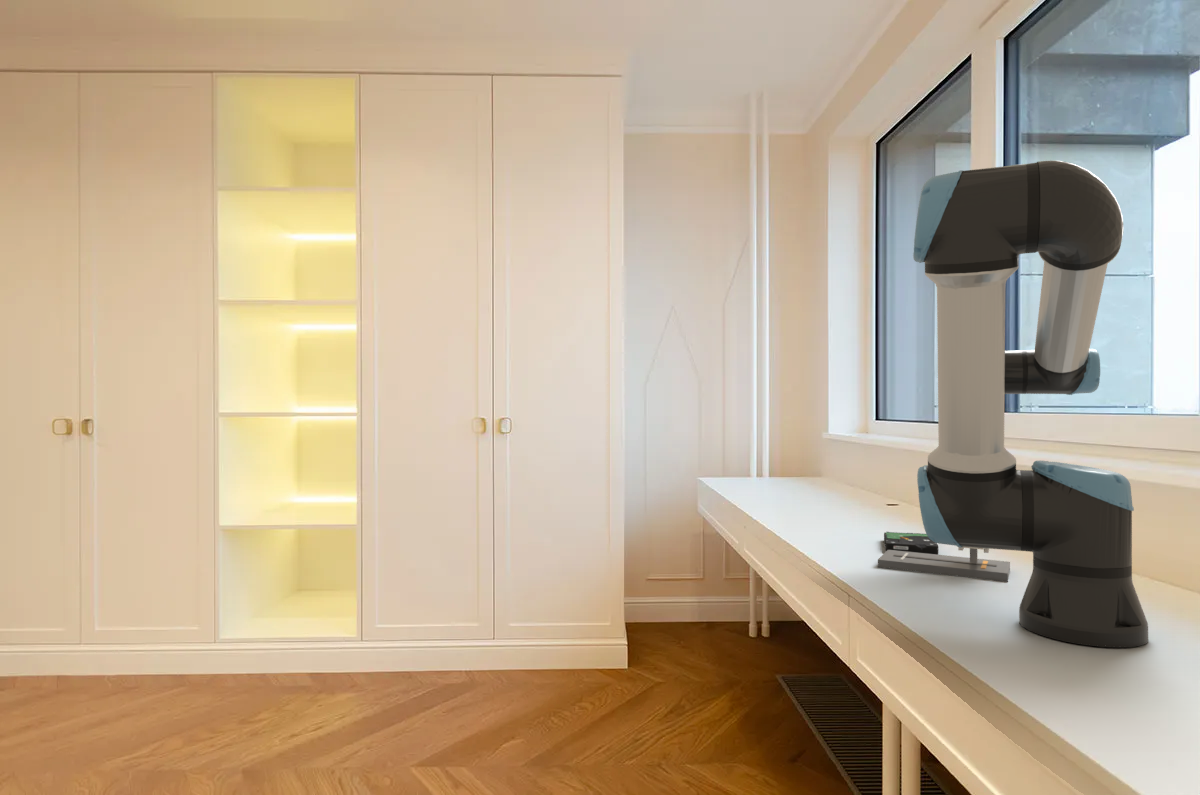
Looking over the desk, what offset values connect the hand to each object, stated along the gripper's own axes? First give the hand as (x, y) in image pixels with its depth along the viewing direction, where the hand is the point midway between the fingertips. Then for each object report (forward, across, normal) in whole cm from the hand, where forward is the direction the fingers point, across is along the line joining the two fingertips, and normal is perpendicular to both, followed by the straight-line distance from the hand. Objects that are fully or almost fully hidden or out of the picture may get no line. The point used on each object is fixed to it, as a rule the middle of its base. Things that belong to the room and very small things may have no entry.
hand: (973, 550), depth 139 cm
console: (+4, +5, 0) cm, 7 cm away
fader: (+2, 0, 0) cm, 2 cm away
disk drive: (+5, +14, -18) cm, 23 cm away
